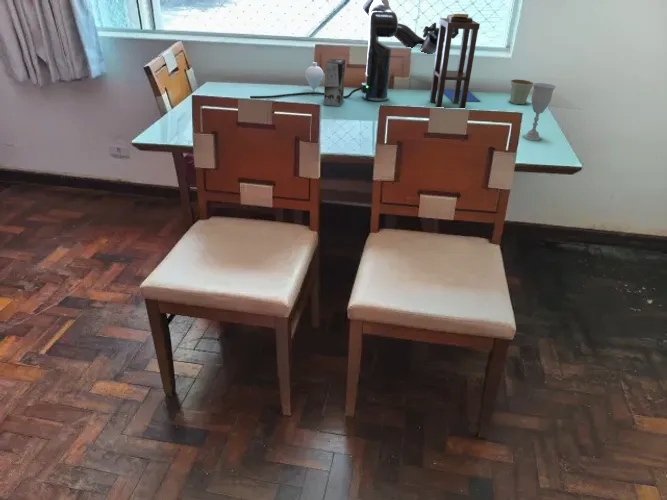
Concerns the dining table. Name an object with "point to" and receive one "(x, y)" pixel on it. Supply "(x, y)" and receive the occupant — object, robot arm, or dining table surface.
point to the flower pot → (520, 91)
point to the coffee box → (334, 82)
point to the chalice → (539, 105)
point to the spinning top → (314, 75)
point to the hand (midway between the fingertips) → (445, 25)
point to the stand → (459, 74)
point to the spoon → (458, 15)
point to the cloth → (469, 96)
